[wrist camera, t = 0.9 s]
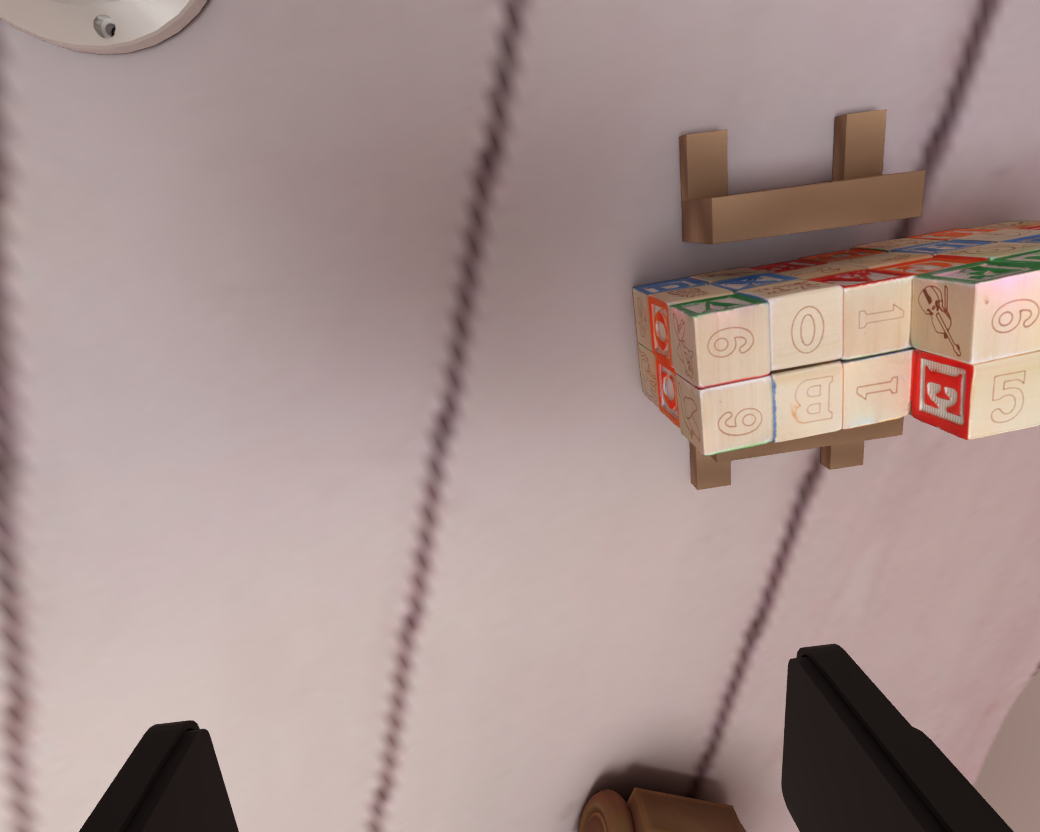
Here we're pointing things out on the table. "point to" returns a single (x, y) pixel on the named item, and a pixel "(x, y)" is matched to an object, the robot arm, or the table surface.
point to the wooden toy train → (656, 814)
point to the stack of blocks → (851, 340)
